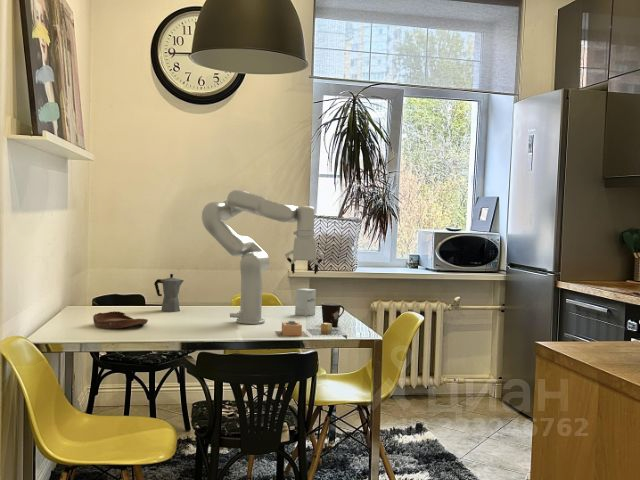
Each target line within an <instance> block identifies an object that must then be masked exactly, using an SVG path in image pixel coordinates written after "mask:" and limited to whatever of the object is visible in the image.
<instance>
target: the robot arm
mask: <svg viewBox="0 0 640 480" xmlns="http://www.w3.org/2000/svg"><path fill="white" fill-rule="evenodd" d="M242 212H246V213H250V214H253V215H256V216H259V217H263V218H267V219H270V220H273V221H278V222H280V223H281V222H282V223H296V230H294V231H293V235H295V237H294V240H293V246H292V247H293V249H292V250H291V251H289V252H286V253H285V254H284V257H285V258H286V259H287V260H286V261H288V262H289V263H290V272H292V274H295V273H296V272H295V271H296V264H295V262H296V261H312V262H314V267H313V268H314V270H313V271H314V275H317V273H318V272H319V265H320V263H321V262H322V261H323V260H324V258H325V254H324V253H321V252H320V251H318V250H317V239H316V237H315V213H316V212H315V208H314V207H313V206H308V205H300V206H296V205H290V204H282V203H279V202H275V201H272V200H268V199H267V198H266V197H265V196H262V195H258V194H255V193H251V192H248V191H246V190H243V189H242V190H241V189H234V190H232V191H230V192H229V193H228V195H227V197H226V200H225V201H222V202H221V201H220V202H219V201H213V202H209V203H207V204H206V205H204V207H203V208H202V212H201V220H202V224H203V226H204V229H205V230H206V231H207V233H209V234H210V235H211V236H212V238H214V240H216V241H217V242H218V244H220V245H221V247H222V248H223V249H224V250H226V252H227V253H228V254H230V256H232V257H241V259H240V262H239V269H240V281H241V282H240V307H239V308H240V309H239V311H238V312H235V313H234V312H230V313H229V318H234V319H235V318H236V320H235V321H236V323H238V324H245V325H246V324H247V325H259V324H260V325H261V324H264V323H265V322H266V321H265V319H264V318H262V306H263V304H262V302H263V274H262V272H265V271H266V270H267V269H268V268H269V267H270V263H271V262H270V257H269V255H268V254H267V252H266V251H265V250H263V248H262V247H260V246H259V245H258V244H257V243H256V242H255V241H254V240H253V239H252V238H251V237H249V236H247V235H242V234H241V235H240V234H238V233H237V232H235V230H233V228H231V227H230V226H229V225H228V224H227V223H226V222H225V221H228V220H230V219H232V218H234V217H235V216H237V215H239V214H241V213H242ZM291 255H292V258H290V256H291ZM317 255H318V256H320V257H319V259H317Z"/></svg>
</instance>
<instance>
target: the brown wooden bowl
mask: <svg viewBox="0 0 640 480" xmlns="http://www.w3.org/2000/svg"><path fill="white" fill-rule="evenodd" d="M92 316H93V317H92V318H93V324H94V325H95V327H96V328H100V329H121V328H128V327H132V326H137V325H139V326H145V325H146V324H147V323H148V321H149V319H148V318H147V319H146V318H132V317H131V316H129V315H127V314H126V313H125V312H122V311H109V312H108V311H107V312H99V313H95V314H94V315H92Z"/></svg>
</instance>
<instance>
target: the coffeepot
mask: <svg viewBox="0 0 640 480" xmlns="http://www.w3.org/2000/svg"><path fill="white" fill-rule="evenodd" d="M183 282H184V279H180V278H175V277H174V274H173V273H170V274H169V277H167V278H164V279H163V278H161V279H160V278H158V279H156V280H155V281H154V289H155V291H156V295H157V297H162V296H163V300H162V303H161V312H163V313H166V312H167V313H177V312H180V303H179V294H180V293H179V292H180V288H181V285H182V284H183ZM159 284H162V290H163V291H162V292H163V294H161V293H160V287H159Z"/></svg>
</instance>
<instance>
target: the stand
mask: <svg viewBox="0 0 640 480" xmlns="http://www.w3.org/2000/svg"><path fill="white" fill-rule="evenodd" d="M295 322H296V320H289V321H288V325H295ZM274 333H275V334H276V335H277V337H281V338H285V337H286V338H287V337H288V338H290V337H291V338H292V337H293V338H294V337H295V338H296V337H297V338H298V337H299V338H300V337H303V338H305V337H307V338H309V335H308V334H307V333H306V332H305V331H304V330H302V335H283V333H282V330H274Z"/></svg>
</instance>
